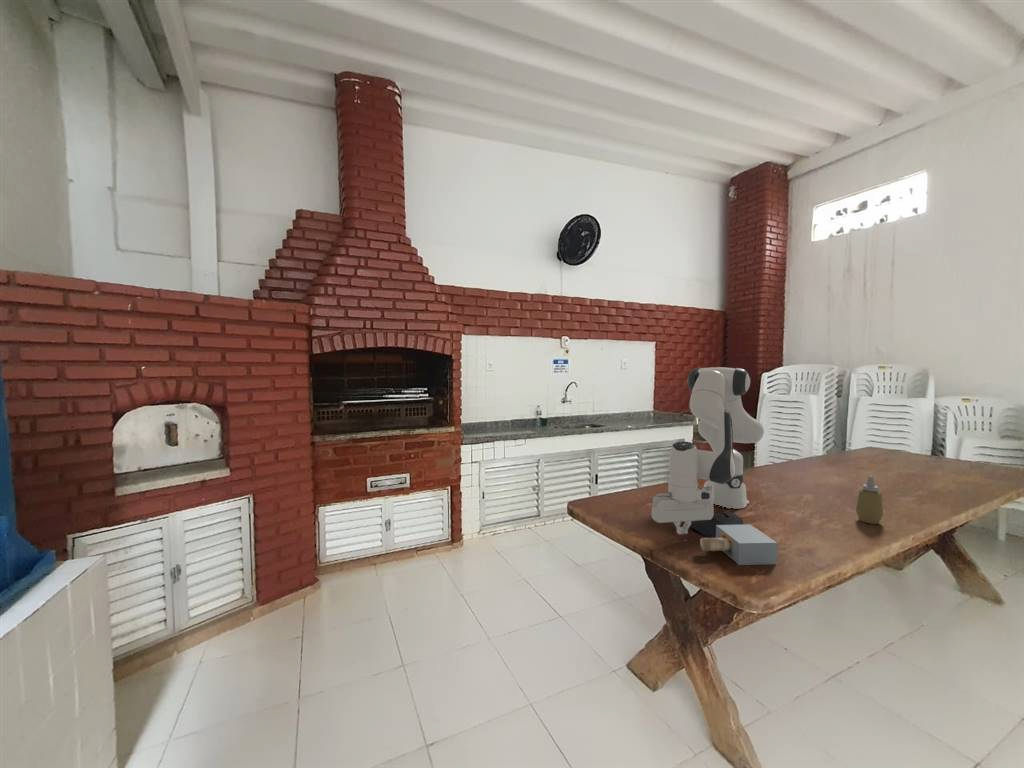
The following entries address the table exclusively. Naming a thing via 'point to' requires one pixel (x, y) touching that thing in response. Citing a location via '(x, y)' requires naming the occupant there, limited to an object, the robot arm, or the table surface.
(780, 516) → the table surface
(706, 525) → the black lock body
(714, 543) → the dowel peg
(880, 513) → the squeeze bottle
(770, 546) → the socket block
